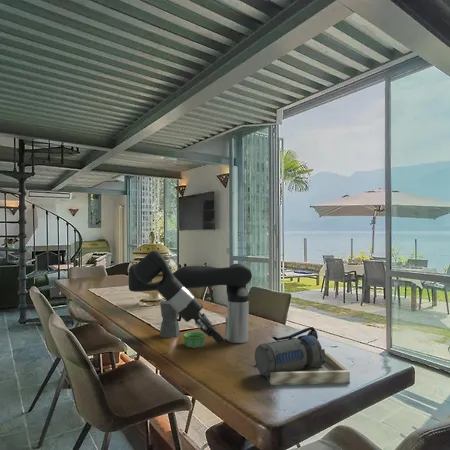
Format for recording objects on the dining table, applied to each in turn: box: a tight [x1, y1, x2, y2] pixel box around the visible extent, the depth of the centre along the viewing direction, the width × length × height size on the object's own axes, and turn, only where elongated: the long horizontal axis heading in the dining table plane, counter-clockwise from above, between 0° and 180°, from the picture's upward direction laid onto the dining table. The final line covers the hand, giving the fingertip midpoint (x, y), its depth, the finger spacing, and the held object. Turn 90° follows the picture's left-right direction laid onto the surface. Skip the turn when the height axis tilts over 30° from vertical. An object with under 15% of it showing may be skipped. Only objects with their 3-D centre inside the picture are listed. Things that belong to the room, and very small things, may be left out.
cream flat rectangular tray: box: [266, 351, 351, 386], centre depth 116 cm, size 25×18×4 cm
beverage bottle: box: [254, 326, 326, 378], centre depth 117 cm, size 10×13×25 cm
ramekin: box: [183, 331, 206, 349], centre depth 144 cm, size 9×9×4 cm
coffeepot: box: [159, 299, 183, 339], centre depth 157 cm, size 15×9×18 cm, turn 49°
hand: (221, 341), depth 113 cm, fingers closed
